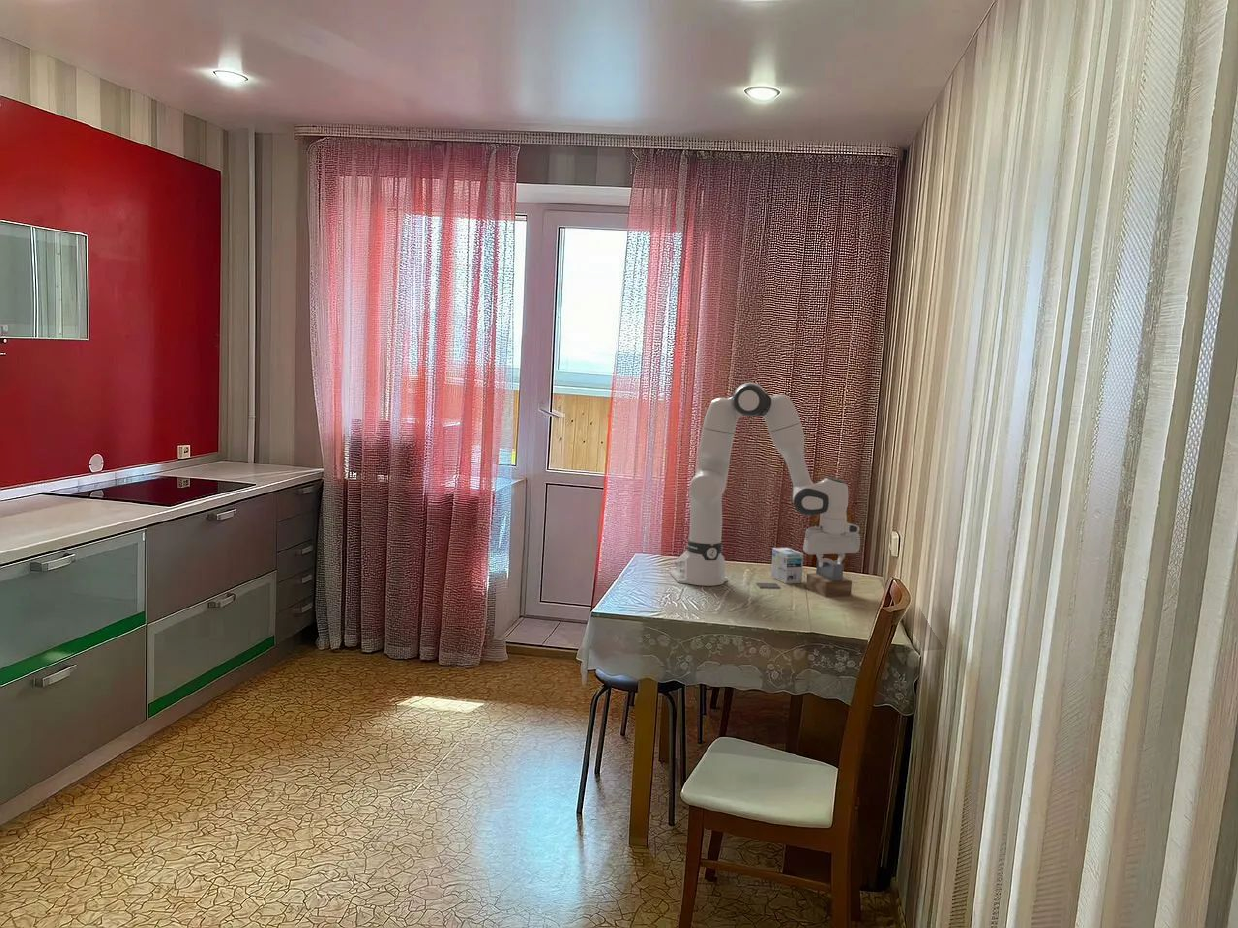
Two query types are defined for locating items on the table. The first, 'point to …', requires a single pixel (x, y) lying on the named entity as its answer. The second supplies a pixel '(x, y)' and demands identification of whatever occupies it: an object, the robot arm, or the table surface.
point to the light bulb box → (787, 565)
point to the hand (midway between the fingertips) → (829, 566)
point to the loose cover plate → (768, 585)
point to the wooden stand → (828, 586)
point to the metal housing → (830, 570)
